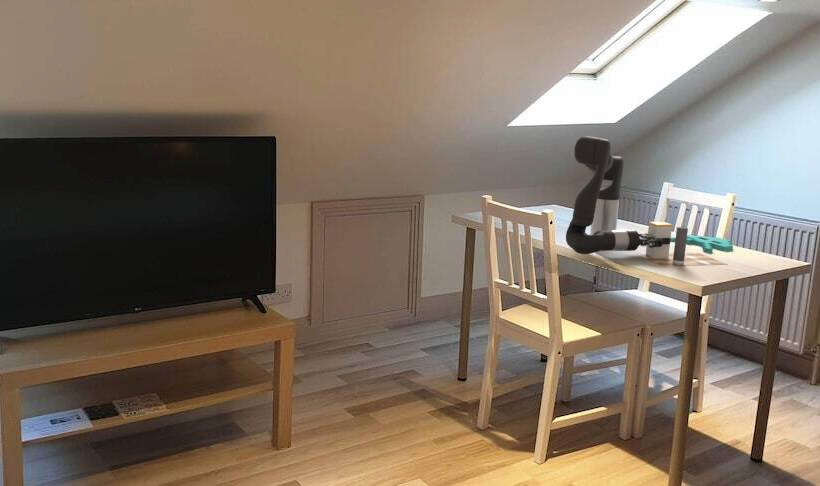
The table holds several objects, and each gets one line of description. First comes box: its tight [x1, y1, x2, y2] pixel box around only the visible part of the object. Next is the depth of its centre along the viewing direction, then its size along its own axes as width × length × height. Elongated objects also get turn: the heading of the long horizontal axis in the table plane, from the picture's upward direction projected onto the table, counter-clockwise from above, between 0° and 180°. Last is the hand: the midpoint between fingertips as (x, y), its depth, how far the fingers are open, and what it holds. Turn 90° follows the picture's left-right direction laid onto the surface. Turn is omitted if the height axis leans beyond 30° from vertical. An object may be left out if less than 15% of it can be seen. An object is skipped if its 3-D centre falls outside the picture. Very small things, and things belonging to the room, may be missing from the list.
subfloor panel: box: [636, 252, 729, 268], centre depth 285 cm, size 17×25×2 cm
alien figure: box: [670, 234, 734, 254], centre depth 316 cm, size 20×2×20 cm
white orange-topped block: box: [645, 221, 673, 258], centre depth 287 cm, size 5×6×12 cm
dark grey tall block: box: [672, 226, 689, 267], centre depth 276 cm, size 4×4×12 cm
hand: (665, 239), depth 287 cm, fingers closed on white orange-topped block, 5 cm apart
